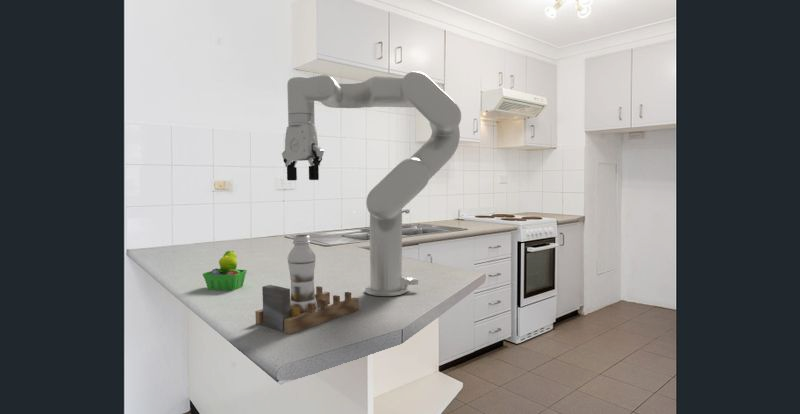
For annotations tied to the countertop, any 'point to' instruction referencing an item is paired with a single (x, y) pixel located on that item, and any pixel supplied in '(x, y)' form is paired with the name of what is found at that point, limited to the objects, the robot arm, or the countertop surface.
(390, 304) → the countertop surface
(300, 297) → the grey bulging hollow cylinder
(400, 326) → the countertop surface
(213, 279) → the fruit basket
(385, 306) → the countertop surface
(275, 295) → the wooden peg rack
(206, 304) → the countertop surface
